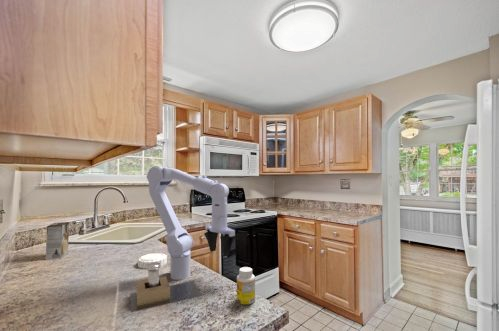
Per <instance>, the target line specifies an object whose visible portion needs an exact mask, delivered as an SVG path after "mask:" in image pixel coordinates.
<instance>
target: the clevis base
mask: <svg viewBox="0 0 499 331" xmlns="http://www.w3.org/2000/svg"><path fill="white" fill-rule="evenodd" d="M135 283H136V285H135V292H133V293H132V292H131V293H130V313H134V312H139V311H143V310H146V309H147V310H148V309H152V308H157V307H159V306H163V305H169V304H173V303H177V302H181V301H185V300H189V299H190V300H191V299H194V298H199V297H203V295H202V293H201V291H200V290H199V289H198V287H197V285H196V284H195V282H194V281H193V280H192V281H187V282H182V283H178V284H173V285H170V284H169V281H168V279H167V276H166V275H165V276H161V277H160V276H159V286H157V287H152V288H149V281H148V279H145V280H138V281H135Z"/></svg>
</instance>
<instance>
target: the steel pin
mask: <svg viewBox="0 0 499 331" xmlns="http://www.w3.org/2000/svg"><path fill="white" fill-rule="evenodd" d="M146 267H147V269H146V271H148V272H147V273H148V277H147V280H148V281H149V288H152V287H157V286H159V277H160V272H159V271H160V270H159V269H161V267H160V263H159V262H154V263H150V264H148V265H147V266H146Z"/></svg>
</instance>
